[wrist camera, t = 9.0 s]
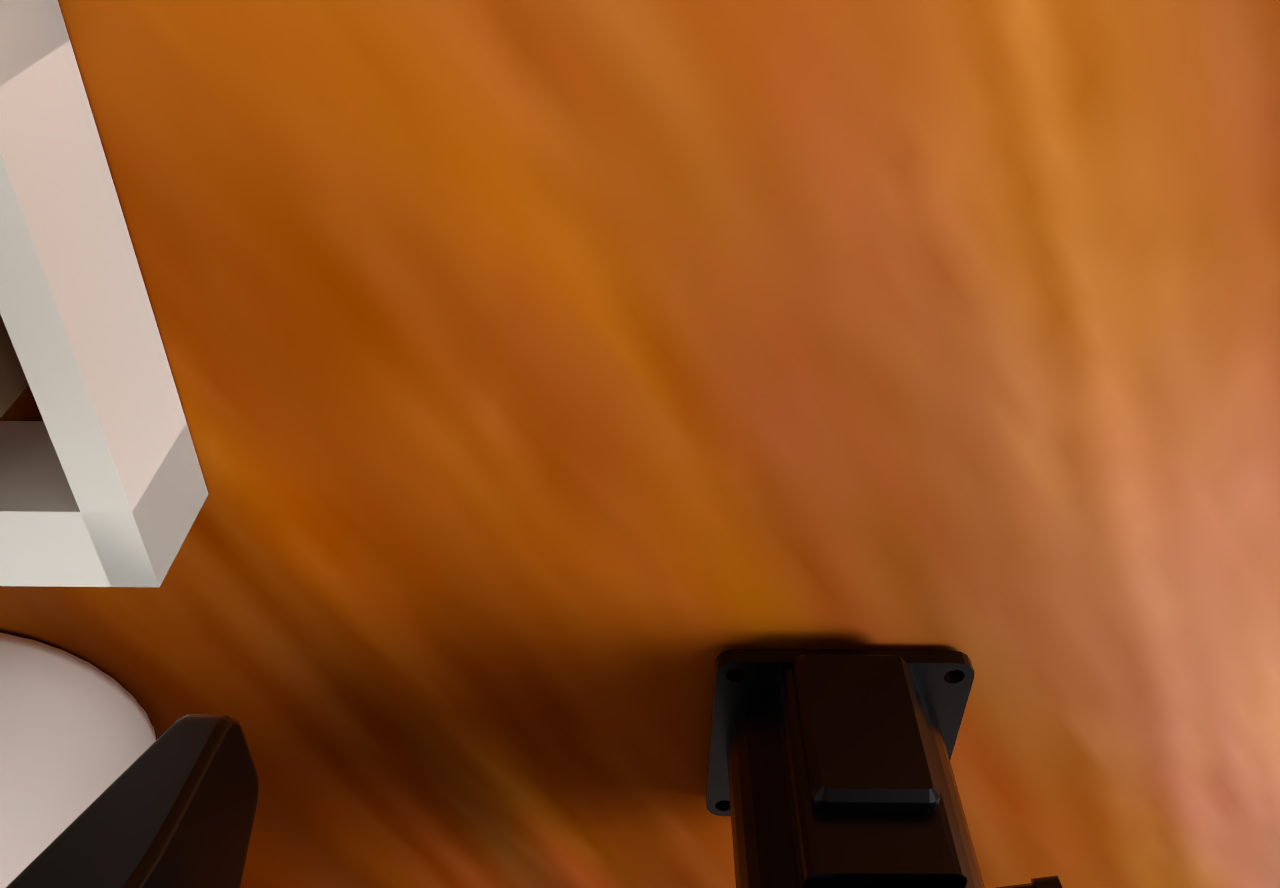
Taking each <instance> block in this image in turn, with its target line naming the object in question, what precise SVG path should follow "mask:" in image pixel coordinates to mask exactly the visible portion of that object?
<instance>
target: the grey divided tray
mask: <svg viewBox="0 0 1280 888" xmlns="http://www.w3.org/2000/svg"><path fill="white" fill-rule="evenodd" d="M0 314H1V317H2V319H3V322H4V324H5V327H6V329H7V332H8V334H9V337H10V339H11V342H12V344H13V347H14V349H15V351H16V354H17V356H18V359H19V361H20V364H21V366H22V369H23V371H24V374H25V376H26V379H27V381H28V384H29V386H30V389H31V391H32V394H33V396H34V399H35V401H36V403H37V406H38V408H39V411H40V413H41V416H42V418H43V421H0V586H64V587H160V585H161V584H162V582H163V580H164V578H165V576H166V574H167V572H168V570H169V568H170V566H171V564H172V563H173V561H174V559H175V557H176V555H177V553H178V551H179V549H180V547H181V545H182V544H183V542H184V540H185V538H186V536H187V534H188V532H189V530H190V528H191V526H192V524H193V523H194V521H195V519H196V517H197V515H198V513H199V511H200V509H201V507H202V505H203V504H204V502H205V500H206V498H207V496H208V491H207V488H206V485H205V481H204V478H203V475H202V472H201V468H200V465H199V462H198V458H197V455H196V452H195V449H194V445H193V442H192V439H191V435H190V432H189V429H188V426H187V422H186V419H185V416H184V413H183V409H182V406H181V403H180V399H179V396H178V393H177V390H176V386H175V383H174V380H173V377H172V373H171V370H170V367H169V363H168V360H167V357H166V354H165V350H164V347H163V344H162V341H161V337H160V334H159V331H158V327H157V324H156V321H155V318H154V314H153V311H152V308H151V305H150V301H149V298H148V295H147V291H146V288H145V285H144V282H143V278H142V275H141V272H140V269H139V265H138V262H137V259H136V255H135V252H134V249H133V246H132V242H131V239H130V236H129V233H128V229H127V226H126V223H125V219H124V216H123V213H122V210H121V206H120V203H119V200H118V197H117V193H116V190H115V187H114V183H113V180H112V177H111V174H110V170H109V167H108V164H107V161H106V157H105V154H104V151H103V147H102V144H101V141H100V138H99V134H98V131H97V128H96V124H95V121H94V118H93V115H92V111H91V108H90V105H89V102H88V98H87V95H86V92H85V88H84V85H83V82H82V79H81V75H80V72H79V69H78V66H77V62H76V59H75V56H74V52H73V49H72V46H71V43H70V39H69V36H68V33H67V30H66V26H65V23H64V20H63V16H62V13H61V10H60V7H59V3H58V0H0Z"/></svg>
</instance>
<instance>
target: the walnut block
mask: <svg viewBox="0 0 1280 888" xmlns="http://www.w3.org/2000/svg"><path fill="white" fill-rule="evenodd" d="M28 385H29V384H28V381H27V379H26V376H25V374H24V371H23V369H22V366H21V364H20V361H19V359H18V356H17V354H16V351H15V349H14V347H13V344H12V342H11V339H10V337H9V334H8V332H7V329H6V327H5V324H4V322H3V319H2V317H1V314H0V418H1V417H2V416H3V415H4V413H5V412H6V411H7V410H8V409H9V408H10V406H11V405H12V404H13V403H14V402H15V400H16V399H17V398H18V397H19V396H20V395H21V393H22V392H23V391H24V390H25V389H26V388H27V386H28Z"/></svg>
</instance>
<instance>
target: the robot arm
mask: <svg viewBox="0 0 1280 888" xmlns="http://www.w3.org/2000/svg"><path fill="white" fill-rule="evenodd" d="M733 668H740V669H735V670H734V669H733ZM951 670H954V671H951ZM973 679H974V670H973V667H972V664H971V660H970V659H969V657H968V656H967V655H966V654H964V653H962V652H957V651H884V650H767V649H734V650H728V651H725V652H723V653H721V654H720V655H719V656H718V657H717V659H716V662H715V674H714V688H713V701H712V715H711V729H710V743H709V757H708V771H707V785H706V805H707V809H708V810H709V811H710V812H711V813H712V814H715V815H718V816H731V823H732V837H733V851H734V865H735V878H736V888H984V884H983V880H982V877H981V873H980V869H979V866H978V862H977V858H976V855H975V851H974V847H973V844H972V840H971V837H970V833H969V829H968V826H967V822H966V818H965V815H964V811H963V807H962V804H961V800H960V796H959V793H958V789H957V786H956V782H955V778H954V775H953V771H952V767H951V764H950V759H951V755H952V752H953V748H954V745H955V741H956V738H957V734H958V731H959V728H960V724H961V721H962V717H963V714H964V710H965V707H966V703H967V700H968V696H969V693H970V690H971V686H972V683H973ZM257 800H258V777H257V772H256V769H255V766H254V763H253V760H252V757H251V754H250V751H249V748H248V745H247V743H246V740H245V737H244V734H243V731H242V728H241V725H240V723H239V721H238V720H237V719H236V718H235V717H234V716H232V715H228V714H190V715H186V716H184V717H182V718H180V719H179V720H177V721H176V722H175V723H174V724H173V725H171V726H170V727H169V728H168V729H167V730H166V731H165V732H164V733H163V734H162V735H161V736H160V737H159V738H158V739H157V740H156V741H155V742H154V743H153V744H152V745H151V746H150V747H149V748H148V749H147V750H146V751H145V752H144V753H143V754H142V755H141V756H140V757H139V758H138V759H137V760H136V761H135V762H134V763H133V764H132V765H131V766H130V767H129V768H127V769H126V770H125V771H124V772H123V773H122V774H121V775H120V776H119V777H118V778H117V779H116V780H115V781H114V782H113V783H112V784H111V785H110V786H109V787H108V788H107V789H106V790H105V791H104V792H103V793H102V794H101V795H100V796H99V797H98V798H97V799H96V800H95V801H94V802H93V803H92V804H91V805H90V806H89V807H88V808H87V809H86V810H84V811H83V812H82V813H81V814H80V815H79V816H78V817H77V818H76V819H75V820H74V821H73V822H72V823H71V824H70V825H69V826H68V827H67V828H66V829H65V830H64V831H63V832H62V833H61V834H60V835H59V836H58V837H57V838H56V839H55V840H54V841H53V842H52V843H51V844H50V845H49V846H48V847H47V848H46V849H45V850H44V851H43V852H42V853H40V854H39V855H38V856H37V857H36V858H35V859H34V860H33V861H32V862H31V863H30V864H29V865H28V866H27V867H26V868H25V869H24V870H23V871H22V872H21V873H20V874H19V875H18V876H17V877H16V878H15V879H14V880H13V881H12V882H11V883H10V884H9V885H8V886H7V887H6V888H240V885H241V880H242V875H243V870H244V865H245V860H246V855H247V851H248V846H249V841H250V836H251V831H252V826H253V821H254V816H255V811H256V806H257ZM997 888H1062V886H1061V883H1060V881H1059V879H1058V877H1057V876H1050V877H1042V878H1034V879H1032V880H1031V883H1030V884H1022V885H1014V886H1006V887H997Z"/></svg>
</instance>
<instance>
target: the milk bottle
mask: <svg viewBox="0 0 1280 888" xmlns="http://www.w3.org/2000/svg"><path fill="white" fill-rule="evenodd" d="M155 741H156V737H155V729H154V728H153V726H152V724H151V722H150V720H149V718H148V716H147V713H146V712H145V710H144V709H143V708H142V707H141V706H140V705H139V703H138V702H137V701H136V699H135V698H134V697H133V695H132V694H130V693H129V692H128V691H127V690H126V689H124V688H123V687H122V686H121V685H120V684H119V683H118V682H117V681H116V680H115V679H113V678H112V677H110V676H109V675H107V674H106V673H104V672H102V671H101V670H99V669H98V668H96V667H95V666H94V665H92V664H91V663H88V662H86V661H84V660H82V659H80V658H78V657H76V656H74V655H72V654H70V653H68V652H66V651H64V650H61V649H58V648H55V647H52V646H49V645H47V644H44V643H41V642H38V641H36V640H32V639H27V638H22V637H18V636H14V635H10V634H6V633H0V888H6V887H7V886H8V885H9V884H10V883H11V882H12V881H13V880H14V879H15V878H16V877H17V876H18V875H19V874H20V873H21V872H22V871H23V870H24V869H25V868H26V867H27V866H28V865H29V864H30V863H31V862H32V861H33V860H34V859H35V858H36V857H37V856H38V855H39V854H40V853H42V852H43V851H44V850H45V849H46V848H47V847H48V846H49V845H50V844H51V843H52V842H53V841H54V840H55V839H56V838H57V837H58V836H59V835H60V834H61V833H62V832H63V831H64V830H65V829H66V828H67V827H68V826H69V825H70V824H71V823H72V822H73V821H74V820H75V819H76V818H77V817H78V816H79V815H80V814H81V813H82V812H83V811H84V810H86V809H87V808H88V807H89V806H90V805H91V804H92V803H93V802H94V801H95V800H96V799H97V798H98V797H99V796H100V795H101V794H102V793H103V792H104V791H105V790H106V789H107V788H108V787H109V786H110V785H111V784H112V783H113V782H114V781H115V780H116V779H117V778H118V777H119V776H120V775H121V774H122V773H123V772H124V771H125V770H126V769H127V768H129V767H130V766H131V765H132V764H133V763H134V762H135V761H136V760H137V759H138V758H139V757H140V756H141V755H142V754H143V753H144V752H145V751H146V750H147V749H148V748H149V747H150V746H151V745H152V744H153V743H154V742H155Z"/></svg>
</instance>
